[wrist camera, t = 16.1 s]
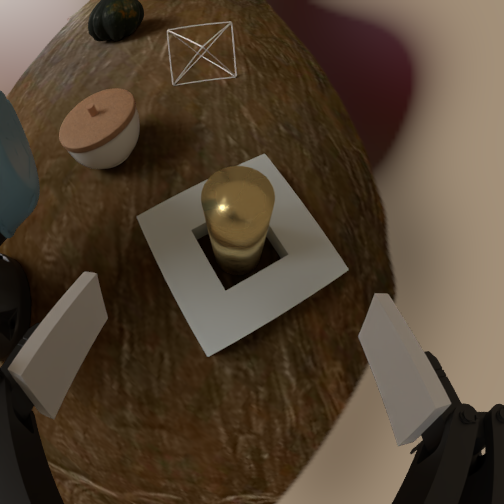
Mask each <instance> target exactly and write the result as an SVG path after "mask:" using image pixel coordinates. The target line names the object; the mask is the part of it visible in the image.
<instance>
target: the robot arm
mask: <svg viewBox="0 0 504 504" xmlns="http://www.w3.org/2000/svg"><path fill="white" fill-rule="evenodd" d="M38 199H39V179H38V173H37V169H36V165H35V162H34V158H33V155H32V152H31V149H30V146H29V143H28V141H27V138H26V135H25V133H24V130H23V128H22V125H21V123H20V121H19V119H18V117H17V114H16V112H15V110H14V108H13V106H12V104H11V103H10V101H9V100H7V99H6V97H5V95H4V93H2V91H0V245H1V244H2V243H3V242H4V241H5V240H6V239H7V238H11V237H12V236H13V235H14V233H15V231H16V229H17V228H18V227H19V225H20V224H21V223H22V222H23V221H24V220H25V219H26V218H27V217H28V216H29V215H30V214H31V213H32V212H33V210H34V209H35V207H36V205H37V202H38ZM30 313H31V300H30V290H29V285H28V281H27V278H26V275H25V273H24V271H23V269H22V267H21V266H20V264H19V263H18V262H17V261H16V260H14V259H12V258H10V257H8V256H7V255H5V254H2V253H0V361H5V362H4V364H3V365H2V367H1V368H0V504H64V503H63V500H62V498H61V496H60V494H59V491H58V489H57V486H56V484H55V481H54V479H53V476H52V474H51V471H50V468H49V465H48V462H47V459H46V456H45V453H44V450H43V446H42V443H41V439H40V436H39V432H38V428H37V424H36V420H35V415H34V413H33V411H32V408H33V406H35V407H36V408H37V410H38V411H39V412H40V413H41V414H43V415H45V416H48V417H50V418H52V419H55V416H56V414H57V412H58V410H59V408H60V406H61V403H62V401H63V399H64V397H65V395H66V393H67V391H68V389H69V387H70V385H71V383H72V381H73V379H74V377H75V375H76V374H77V372H78V370H79V368H80V366H81V364H82V362H83V361H84V359H85V357H86V355H87V353H88V351H89V350H90V348H91V346H92V344H93V343H94V341H95V339H96V337H97V336H98V334H99V332H100V331H101V329H102V327H103V325H104V324H105V322H106V321H107V319H108V316H107V313H106V309H105V305H104V301H103V298H102V294H101V289H100V285H99V281H98V276H97V273H92V272H83V274H82V275H81V276H80V277H79V278H78V279H77V280H76V281H75V282H74V284H73V285H72V286H71V287H70V288H69V289H68V290H67V292H66V293H65V294H64V295H63V296H62V297H61V299H60V300H59V301H58V302H57V303H56V305H55V306H54V307H53V308H52V309H51V311H50V312H49V313H48V314H47V316H46V317H45V318H44V319H43V321H42V322H41V323H36V324H35V325H34V326H32V327H31V328H30V329H28V328H29V323H30ZM358 337H359V340H360V342H361V345H362V347H363V350H364V352H365V355H366V357H367V360H368V362H369V365H370V368H371V370H372V373H373V375H374V378H375V381H376V383H377V386H378V389H379V392H380V394H381V397H382V400H383V403H384V405H385V408H386V411H387V414H388V417H389V420H390V423H391V426H392V429H393V432H394V435H395V439H396V442H397V445H398V446H401V445H404V444H408V443H411V442H414V441H415V440H416V439H417V438H418V437H419V436H420V435H421V436H422V438H423V441H421V442H420V443H419V444H418V445H417V446H416V447H415V448H413V449H412V451H411V452H410V453H411V454H412V453H414V452H415V451H416V450H417V452H416V454H415V457H414V460H413V462H412V464H411V466H410V468H409V471H408V473H407V475H406V477H405V479H404V481H403V483H402V485H401V487H400V489H399V491H398V493H397V495H396V497H395V499H394V501H393V502H392V504H504V405H502V404H496V405H495V406H494V407H493V408H492V409H491V410H490V411H489V412H477V411H476V410H475V409H474V408H473V407H472V406H470V405H469V404H462V403H461V402H460V400H459V398H458V396H457V394H456V392H455V390H454V388H453V387H452V385H451V383H450V381H449V379H448V378H447V377H446V374H445V372H444V370H442V367H441V365H440V363H439V361H438V360H437V358H436V357H435V356H433V355H432V354H431V353H430V352H429V351H427V352H424V351H423V349H422V347H421V346H420V344H419V342H418V341H417V339H416V337H415V336H414V334H413V332H412V331H411V329H410V327H409V326H408V324H407V323H406V321H405V319H404V318H403V316H402V315H401V313H400V311H399V310H398V308H397V307H396V305H395V304H394V302H393V300H392V299H391V297H390V296H389V294H383V293H375V294H374V297H373V299H372V302H371V305H370V308H369V310H368V313H367V315H366V318H365V321H364V323H363V326H362V328H361V331H360V333H359V335H358ZM484 448H485V449H486V450H485V454H484V455H482V453H481V450H482V449H484Z"/></svg>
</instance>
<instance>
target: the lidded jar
mask: <svg viewBox="0 0 504 504" xmlns="http://www.w3.org/2000/svg"><path fill="white" fill-rule="evenodd" d="M139 132H140V121H139V115H138V111H137V108H136V103H135V100H134V97H133V95H132V94H131V93H130V92H129V91H127V90H124V89H118V88H114V89H107V90H103V91H100V92H98V93H95V94H93V95H91V96H89V97H88V98H86V99H84V100H83V101H82V102H80V103H79V104H78V105H77V106H75V107H74V108H73V109H72V110H71V112H70V113H69V114H68V115H67V116H66V118H65V119H64V121H63V123H62V125H61V128H60V132H59V139H60V142H61V144H62V145H63V147H64V148H65V149H66V150H68V152H69V153H70V154H71V156H72V157H73V158H74V159H76V160H77V161H78V162H79V163H80V164H82V165H84V166H86V167H88V168H92V169H108V168H113V167H116V166H118V165H120V164H121V163H122V162H124V161H125V160H126V159H127V158H128V157H129V155H130V154H131V152H132V150H133V149H134V147H135V145H136V143H137V141H138V138H139Z"/></svg>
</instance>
